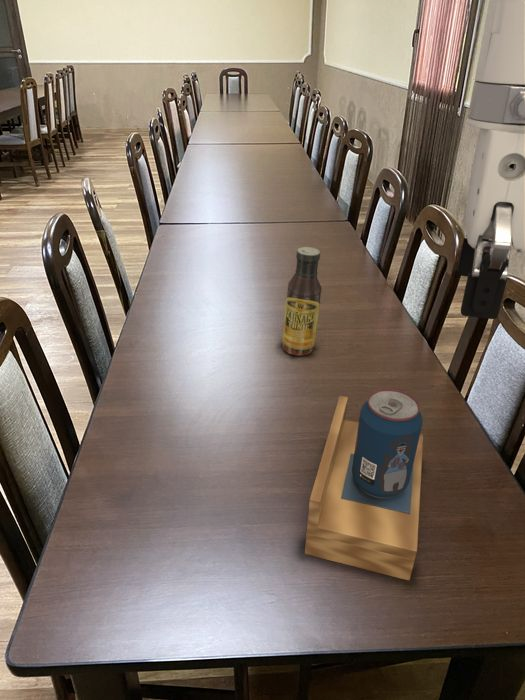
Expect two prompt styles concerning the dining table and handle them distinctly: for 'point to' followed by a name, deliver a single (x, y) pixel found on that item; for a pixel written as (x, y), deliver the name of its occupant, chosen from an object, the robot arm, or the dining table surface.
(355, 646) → the dining table surface
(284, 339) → the sauce bottle
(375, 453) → the soda can
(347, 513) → the wooden block with lip
